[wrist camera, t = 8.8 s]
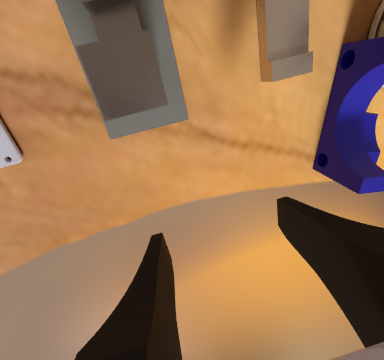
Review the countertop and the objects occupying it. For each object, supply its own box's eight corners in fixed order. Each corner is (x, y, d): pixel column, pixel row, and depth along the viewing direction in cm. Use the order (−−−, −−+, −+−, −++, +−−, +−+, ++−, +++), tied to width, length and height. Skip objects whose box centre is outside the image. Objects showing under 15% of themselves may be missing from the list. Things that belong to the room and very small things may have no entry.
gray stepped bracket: (121, 106, 18) (105, 121, 12) (80, -8, 15) (28, -74, 8) (162, 96, 18) (168, 104, 12) (132, -20, 15) (118, -91, 9)
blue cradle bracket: (347, 165, 25) (401, 189, 20) (312, 168, 24) (358, 193, 19) (385, 44, 20) (471, 32, 15) (342, 44, 19) (416, 30, 14)
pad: (111, 137, 19) (110, 139, 19) (42, -41, 14) (37, -45, 14) (187, 118, 20) (188, 119, 19) (147, -62, 14) (147, -67, 14)
